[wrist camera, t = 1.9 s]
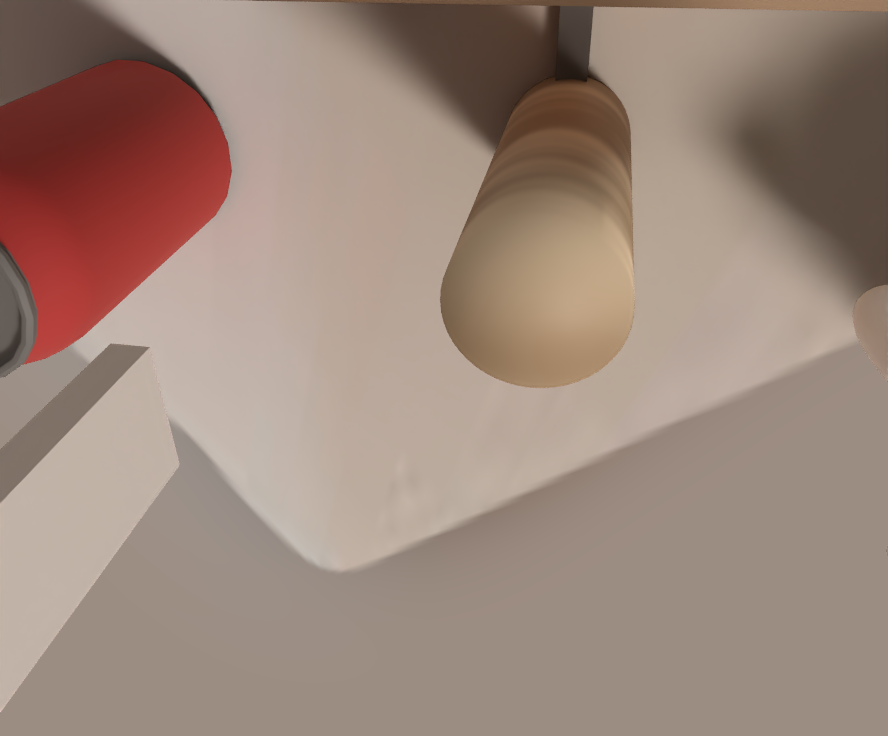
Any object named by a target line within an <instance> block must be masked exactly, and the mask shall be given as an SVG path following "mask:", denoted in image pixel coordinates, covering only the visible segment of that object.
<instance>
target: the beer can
mask: <svg viewBox="0 0 888 736" xmlns="http://www.w3.org/2000/svg"><path fill="white" fill-rule="evenodd" d="M231 173H232V169H231V162H230V155H229V147H228V142H227V140H226V138H225V135H224V133H223V131H222V128H221V126H220V124H219V122H218V119H217V117H216V115H215V114H214V113H213V112H212V110H211V109H210V108H209V106H208V105H207V104H206V103H205V101H204V100H203V99H202V97H201V96H200V95H199V94H198V92H196V91H195V90H194V89H193V88H191V87H190V86H189V85H187V84H186V83H185V82H184V81H182V80H181V79H180V78H178V77H177V76H176V75H174V74H173V73H171V72H168V71H166V70H163V69H161V68H158V67H156V66H153V65H151V64H148V63H146V62H143V61H128V60H114V61H111V62H108V63H105V64H102V65H99V66H96V67H93V68H90V69H88V70H86V71H83V72H81V73H79V74H76V75H74V76H72V77H69V78H67V79H64V80H62V81H60V82H57V83H55V84H53V85H50V86H48V87H46V88H43V89H41V90H39V91H36V92H34V93H31V94H29V95H27V96H24V97H22V98H20V99H17V100H15V101H13V102H10V103H8V104H6V105H3V106H1V107H0V377H5V376H7V375H8V374H10V373H11V372H12V371H14V370H15V369H16V368H18V367H20V366H21V365H23V364H27V363H31V362H35V361H38V360H42V359H45V358H47V357H49V356H51V355H53V354H55V353H57V352H60V351H61V350H63V349H65V348H66V347H68V346H69V345H71V344H72V343H74V342H75V341H77V340H78V339H80V338H81V337H83V336H84V335H85V334H86V333H87V332H88V331H89V330H90V329H92V328H93V327H94V326H95V325H96V324H97V323H98V322H99V321H100V320H101V319H103V318H104V317H105V316H106V315H107V314H108V313H109V312H110V311H111V310H112V309H113V308H115V307H116V306H117V305H118V304H119V303H120V302H121V301H122V300H123V299H124V298H125V297H127V296H128V295H129V294H130V293H131V292H132V291H133V290H134V289H135V288H136V287H138V286H139V285H140V284H141V283H142V282H143V281H144V280H145V279H146V278H147V277H148V276H150V275H151V274H152V273H153V272H154V271H155V270H156V269H157V268H158V267H159V266H161V265H162V264H163V263H164V262H165V261H166V260H167V259H168V258H169V257H170V256H171V255H173V254H174V253H175V252H176V251H177V250H178V249H179V248H180V247H181V246H182V245H184V244H185V243H186V242H187V241H188V240H189V239H190V238H191V237H192V236H193V235H194V234H196V233H197V232H198V231H199V230H200V229H201V228H202V227H203V226H204V225H205V224H206V223H208V222H209V221H210V220H211V219H212V218H213V217H214V216H215V215H216V213H217V212H218V210H219V209H220V207H221V205H222V204H223V202H224V201H225V199H226V197H227V194H228V189H229V183H230V178H231Z"/></svg>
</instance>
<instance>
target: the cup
mask: <svg viewBox="0 0 888 736" xmlns="http://www.w3.org/2000/svg"><path fill="white" fill-rule="evenodd" d="M853 322H854V328H855V331H856V334H857V337H858V339H859V341H860V343H861V345H862V347H863V349H864V350H865V352H866V353H867V355H868V356H869V358H870V360H871V361H872V363H873V364H874V365H875V367H876V368H877V369H878V370H879V372H880V373H881V374H882V375H883V377H884V378H885V379H886V380H887V381H888V285H881V286H877V287H874V288H872V289H870V290H868V291H866V292H865V293H864V294H863V295H862V296H861V297H860V298H859V299H858V300H857V301H856V304H855V307H854V310H853Z"/></svg>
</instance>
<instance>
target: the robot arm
mask: <svg viewBox="0 0 888 736" xmlns="http://www.w3.org/2000/svg"><path fill="white" fill-rule="evenodd" d="M178 466H179V461H178V457H177V453H176V449H175V445H174V441H173V437H172V433H171V429H170V425H169V421H168V417H167V413H166V409H165V405H164V402H163V398H162V394H161V390H160V386H159V382H158V378H157V374H156V370H155V366H154V362H153V358H152V354H151V350H150V347H142V346H131V345H121V344H110V345H109V346H108V347H107V348H106V349H105V350H104V351H103V352H102V353H101V354H99V355H98V356H97V357H96V358H95V359H94V360H93V361H92V362H91V363H90V364H89V365H88V366H87V367H86V368H85V369H84V370H83V371H82V372H81V373H80V374H79V375H78V376H77V377H76V378H75V379H73V380H72V381H71V382H70V383H69V384H68V385H67V386H66V387H65V388H64V389H63V390H62V391H61V392H60V393H59V394H58V395H57V396H56V397H55V398H53V399H52V400H51V401H50V402H49V403H48V404H47V405H46V406H45V407H44V408H43V409H42V410H41V411H40V412H39V413H38V414H37V415H36V416H35V417H34V418H33V419H32V420H31V421H29V422H28V423H27V424H26V425H25V426H24V427H23V428H22V429H21V430H20V431H19V432H18V433H17V434H16V435H15V436H14V437H13V438H12V439H11V440H10V441H9V442H7V443H6V444H5V445H4V446H3V447H2V448H1V449H0V712H1V711H2V709H3V708H4V707H5V705H6V704H7V702H8V701H9V700H10V698H11V697H12V696H13V694H14V693H15V691H16V690H17V689H18V687H19V686H20V684H21V683H22V682H23V680H24V679H25V678H26V676H27V675H28V673H29V672H30V671H31V669H32V668H33V666H34V665H35V664H36V662H37V661H38V660H39V658H40V657H41V656H42V654H43V653H44V651H45V650H46V649H47V647H48V646H49V645H50V643H51V642H52V640H53V639H54V638H55V636H56V635H57V634H58V632H59V631H60V629H61V628H62V627H63V625H64V624H65V622H66V621H67V620H68V618H69V617H70V616H71V614H72V613H73V611H74V610H75V609H76V607H77V606H78V605H79V603H80V602H81V600H82V599H83V598H84V596H85V595H86V593H87V592H88V591H89V589H90V588H91V587H92V585H93V584H94V582H95V581H96V580H97V578H98V577H99V575H100V574H101V573H102V571H103V570H104V569H105V567H106V566H107V564H108V563H109V562H110V560H111V559H112V557H113V556H114V555H115V553H116V552H117V551H118V549H119V548H120V546H121V545H122V544H123V542H124V541H125V540H126V538H127V537H128V536H129V534H130V533H131V531H132V530H133V529H134V527H135V526H136V524H137V523H138V521H139V520H140V519H141V517H142V516H143V515H144V513H145V512H146V511H147V509H148V508H149V507H150V505H151V504H152V502H153V501H154V500H155V498H156V497H157V495H158V494H159V493H160V491H161V490H162V489H163V487H164V486H165V484H166V483H167V482H168V480H169V479H170V478H171V476H172V475H173V473H174V472H175V471H176V469H177V468H178ZM886 552H887V554H888V547H887V550H886Z"/></svg>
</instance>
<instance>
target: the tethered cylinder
mask: <svg viewBox="0 0 888 736" xmlns="http://www.w3.org/2000/svg"><path fill="white" fill-rule="evenodd" d="M592 18H593V6H560V16H559V32H558V48H557V64H556V76H555V77H552V78H549V79H546V80H544V81H542V82H540V83H538V84H536V85H535V86H533V87H532V88H531V89H530V90H528V91H527V92H526V93H525V94H524V95H523V96H522V97H521V98H520V100H519V101H518V103H517V104H516V105H515V107H514V109H513V111H512V113H511V116H510V118H509V120H508V123H507V125H506V128H505V130H504V132H503V135H502V137H501V140H500V142H499V144H498V147H497V149H496V152H495V154H494V156H493V159H492V161H491V164H490V166H489V169H488V171H487V173H486V176H485V178H484V181H483V183H482V185H481V188H480V190H479V193H478V195H477V197H476V200H475V202H474V205H473V207H472V209H471V212H470V214H469V217H468V219H467V221H466V224H465V226H464V229H463V231H462V234H461V236H460V238H459V241H458V243H457V246H456V248H455V250H454V253H453V255H452V258H451V260H450V262H449V265H448V267H447V270H446V272H445V275H444V278H443V282H442V287H441V297H440V303H441V313H442V317H443V321H444V324H445V327H446V329H447V332H448V334H449V336H450V337H451V339H452V341H453V343H454V344H455V345H456V347H457V348H458V350H459V351H460V352H461V353H462V354H463V355H464V356H465V357H466V358H467V359H468V360H469V361H470V362H471V363H472V364H474V365H475V366H476V367H477V368H479V369H480V370H482V371H483V372H485V373H487V374H489V375H490V376H492V377H494V378H496V379H499V380H502V381H504V382H507V383H510V384H514V385H518V386H524V387H532V388H549V387H558V386H564V385H568V384H571V383H575V382H578V381H580V380H583V379H585V378H587V377H589V376H591V375H593V374H594V373H596V372H598V371H599V370H600V369H602V368H603V367H604V366H606V365H607V364H608V363H609V362H610V361H611V360H612V359H613V358H614V357H615V356H616V355H617V353H618V352H619V351H620V349H621V348H622V347H623V345H624V343H625V341H626V339H627V338H628V335H629V332H630V330H631V327H632V322H633V318H634V306H635V303H634V260H633V218H632V175H631V133H630V124H629V119H628V116H627V113H626V110H625V108H624V106H623V105H622V103H621V101H620V100H619V99H618V97H617V96H616V95H615V94H614V93H613V92H612V91H611V90H610V89H609V88H608V87H606V86H605V85H604V84H602V83H600V82H598V81H596V80H594V79H591V78H589V77H588V65H589V54H590V42H591V30H592Z"/></svg>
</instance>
